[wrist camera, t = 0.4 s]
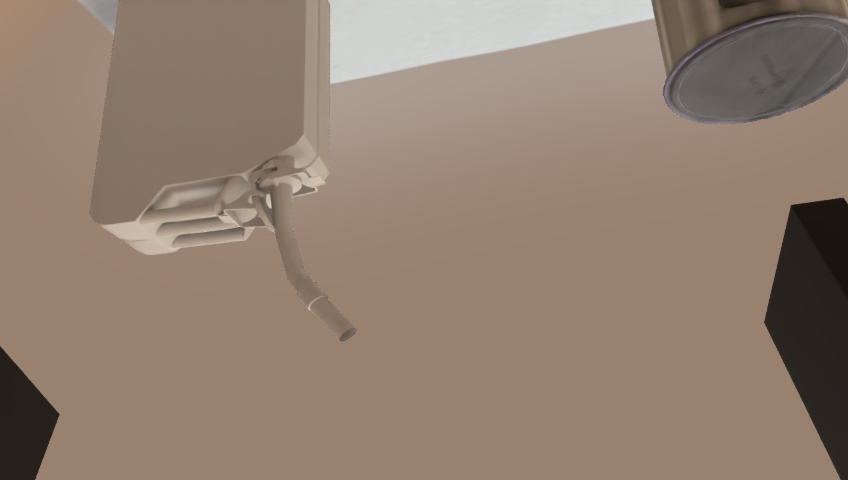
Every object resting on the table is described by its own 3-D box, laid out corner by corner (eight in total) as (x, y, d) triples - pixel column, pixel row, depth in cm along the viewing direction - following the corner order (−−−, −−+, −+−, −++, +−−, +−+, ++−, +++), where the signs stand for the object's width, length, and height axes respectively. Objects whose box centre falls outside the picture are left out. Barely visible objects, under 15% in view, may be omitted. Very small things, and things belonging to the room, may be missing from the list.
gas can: (346, -61, 46) (349, 332, 36) (367, -7, 51) (374, 355, 41) (118, -19, 49) (64, 360, 39) (158, 29, 53) (118, 379, 43)
